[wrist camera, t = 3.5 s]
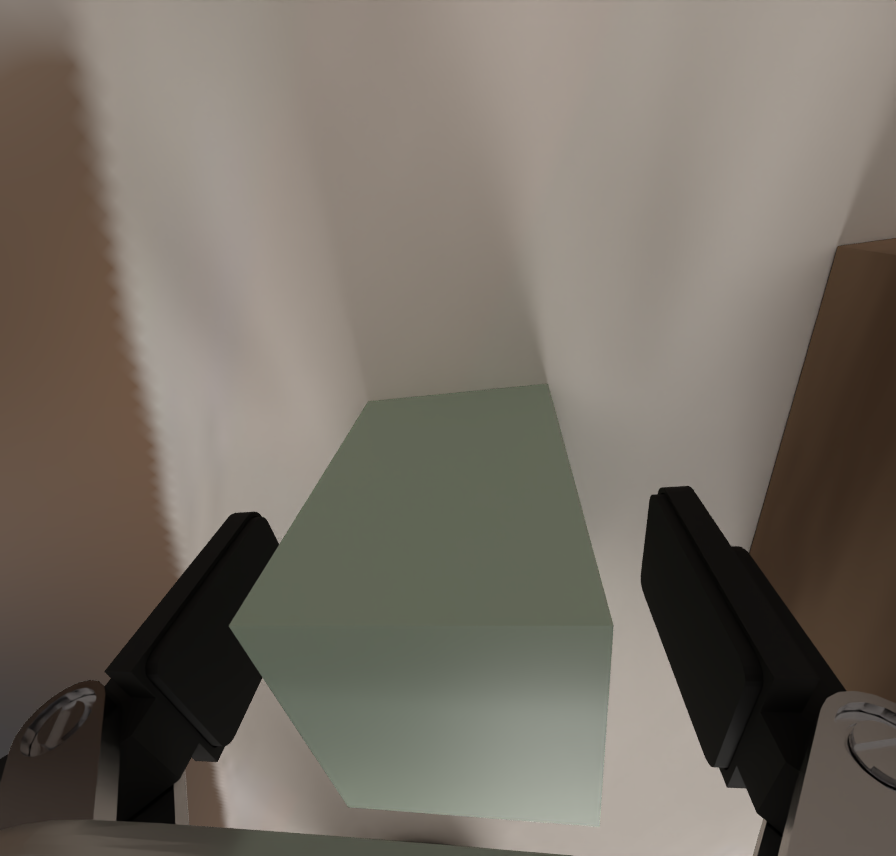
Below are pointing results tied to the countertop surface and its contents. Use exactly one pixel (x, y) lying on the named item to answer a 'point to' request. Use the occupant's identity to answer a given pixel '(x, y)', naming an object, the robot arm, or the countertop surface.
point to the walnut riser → (842, 478)
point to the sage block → (444, 615)
